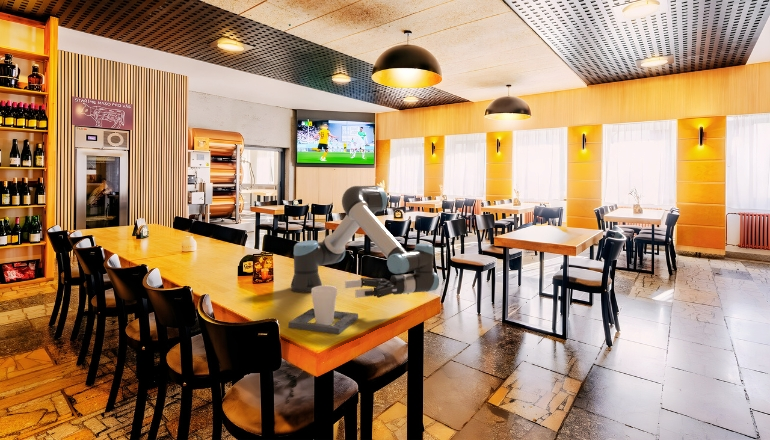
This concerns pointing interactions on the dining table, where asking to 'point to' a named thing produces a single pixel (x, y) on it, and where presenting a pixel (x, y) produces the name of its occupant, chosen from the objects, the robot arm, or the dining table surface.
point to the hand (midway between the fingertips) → (350, 288)
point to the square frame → (337, 328)
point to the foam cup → (324, 303)
